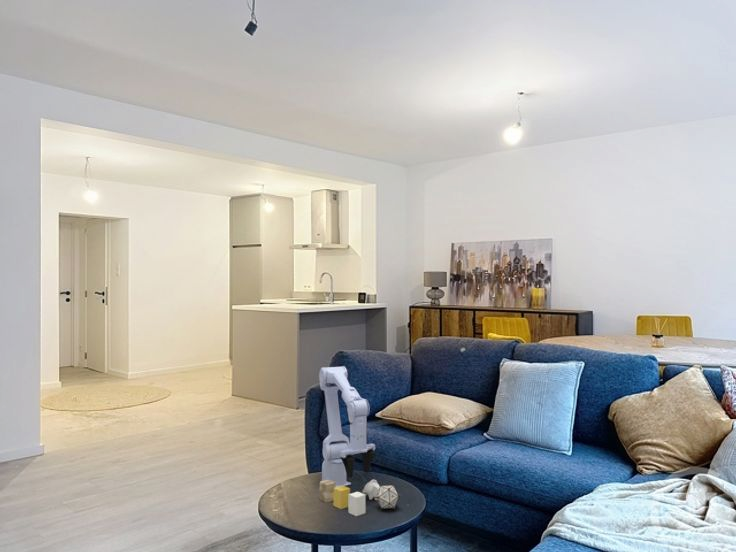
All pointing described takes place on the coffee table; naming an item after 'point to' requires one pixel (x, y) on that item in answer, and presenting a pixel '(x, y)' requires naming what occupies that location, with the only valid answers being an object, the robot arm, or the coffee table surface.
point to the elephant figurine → (371, 489)
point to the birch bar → (327, 490)
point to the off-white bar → (356, 503)
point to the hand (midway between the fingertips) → (357, 474)
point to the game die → (387, 496)
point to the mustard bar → (341, 497)
